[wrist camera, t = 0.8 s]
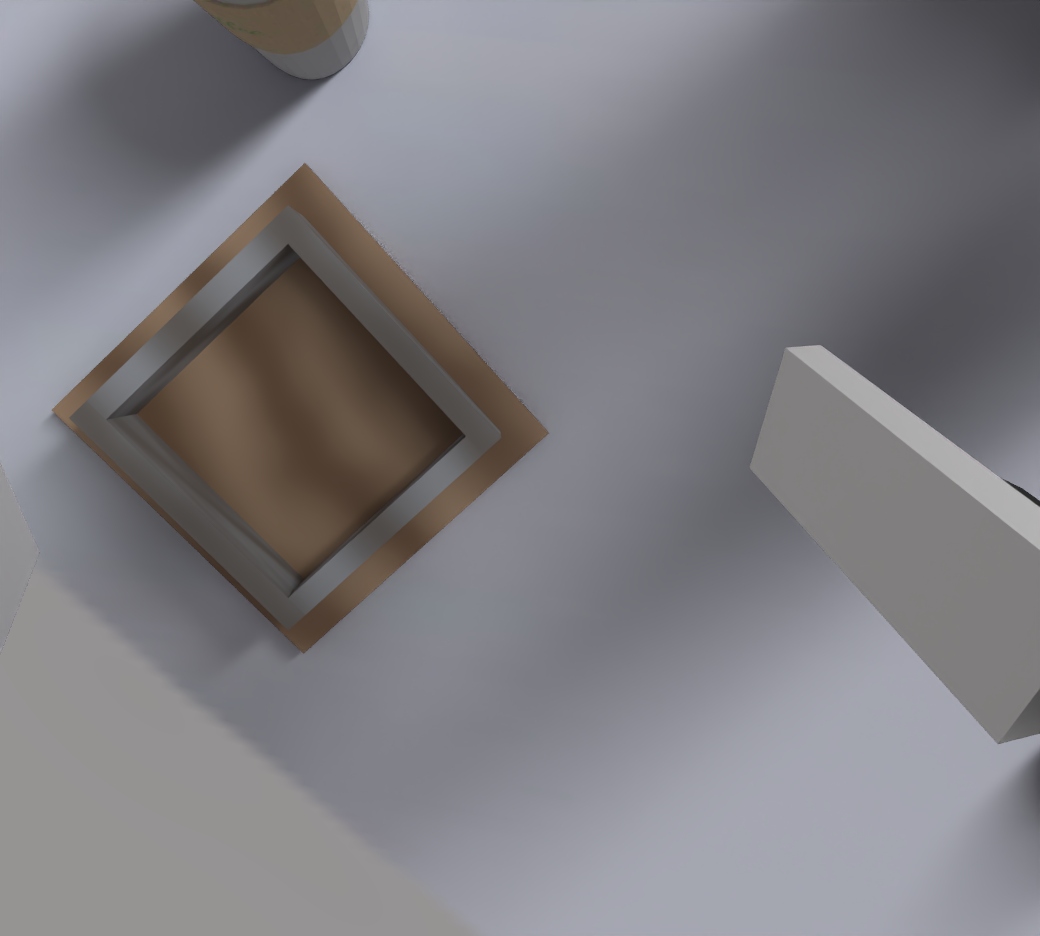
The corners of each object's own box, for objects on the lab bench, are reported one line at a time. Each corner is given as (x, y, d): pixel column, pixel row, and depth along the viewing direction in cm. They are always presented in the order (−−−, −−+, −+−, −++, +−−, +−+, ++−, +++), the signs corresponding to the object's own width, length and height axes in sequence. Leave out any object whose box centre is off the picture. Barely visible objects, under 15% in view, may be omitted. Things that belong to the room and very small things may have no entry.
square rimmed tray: (308, 167, 36) (287, 145, 32) (547, 431, 39) (553, 440, 35) (60, 408, 37) (13, 415, 34) (307, 647, 40) (288, 678, 36)
